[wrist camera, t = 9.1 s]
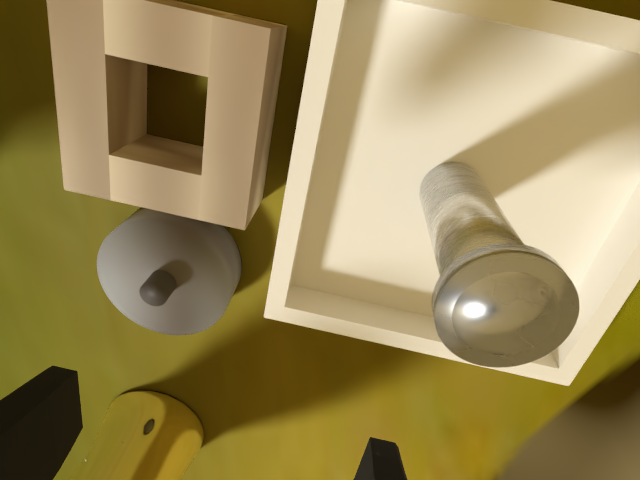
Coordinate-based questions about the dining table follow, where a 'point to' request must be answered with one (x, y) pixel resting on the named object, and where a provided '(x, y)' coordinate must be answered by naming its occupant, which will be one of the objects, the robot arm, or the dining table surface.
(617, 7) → the dining table surface
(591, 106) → the tray
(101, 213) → the dining table surface
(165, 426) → the beer glass
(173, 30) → the block
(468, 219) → the pin
